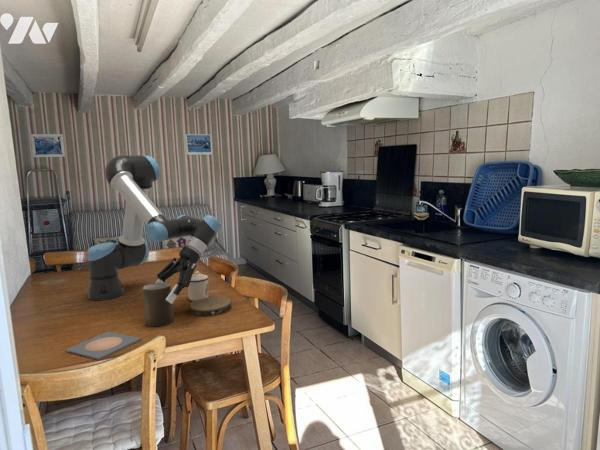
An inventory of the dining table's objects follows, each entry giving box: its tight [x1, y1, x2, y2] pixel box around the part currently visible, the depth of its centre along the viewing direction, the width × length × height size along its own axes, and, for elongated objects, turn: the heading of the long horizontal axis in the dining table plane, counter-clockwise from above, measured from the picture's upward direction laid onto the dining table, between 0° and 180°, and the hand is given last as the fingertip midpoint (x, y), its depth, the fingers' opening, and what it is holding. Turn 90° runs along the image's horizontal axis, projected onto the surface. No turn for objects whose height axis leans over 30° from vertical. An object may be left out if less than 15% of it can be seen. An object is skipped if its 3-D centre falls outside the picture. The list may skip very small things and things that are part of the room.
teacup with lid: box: [187, 270, 210, 302], centre depth 186 cm, size 12×9×12 cm
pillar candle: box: [142, 282, 174, 327], centre depth 157 cm, size 10×10×15 cm
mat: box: [64, 331, 142, 361], centre depth 139 cm, size 16×16×1 cm
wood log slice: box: [189, 296, 232, 317], centre depth 169 cm, size 16×16×3 cm
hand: (159, 298), depth 157 cm, fingers open, 13 cm apart
